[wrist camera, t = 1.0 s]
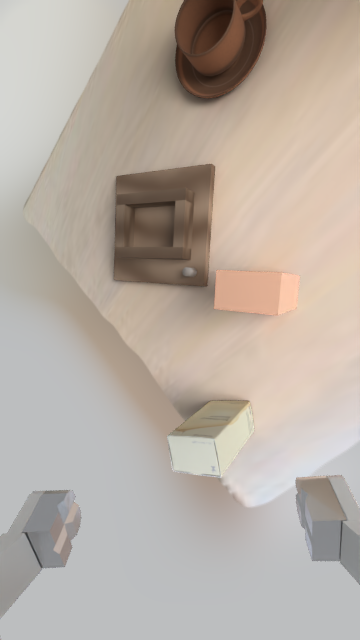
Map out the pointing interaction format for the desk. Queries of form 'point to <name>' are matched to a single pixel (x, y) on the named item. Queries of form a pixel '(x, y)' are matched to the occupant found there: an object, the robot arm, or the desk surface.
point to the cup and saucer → (218, 44)
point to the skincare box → (211, 438)
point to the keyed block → (256, 291)
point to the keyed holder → (164, 225)
